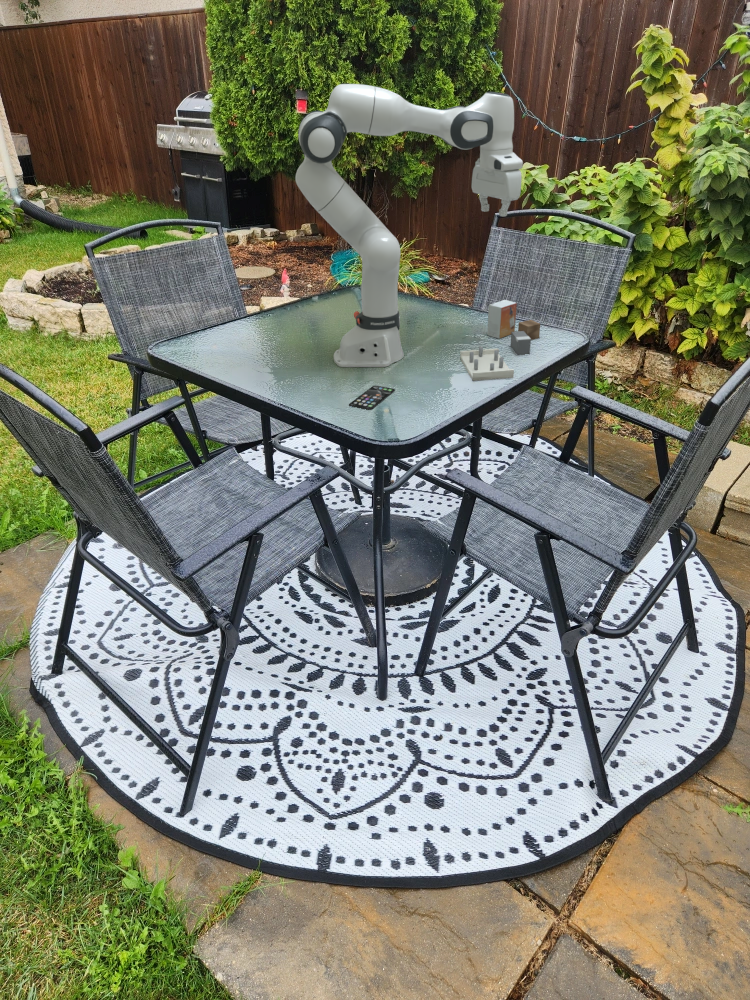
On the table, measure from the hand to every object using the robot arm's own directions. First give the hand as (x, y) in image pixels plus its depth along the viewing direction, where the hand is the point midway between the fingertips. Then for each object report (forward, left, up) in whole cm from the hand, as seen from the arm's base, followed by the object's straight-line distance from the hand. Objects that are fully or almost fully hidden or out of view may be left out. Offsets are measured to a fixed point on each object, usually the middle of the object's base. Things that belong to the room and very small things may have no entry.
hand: (493, 213), depth 192 cm
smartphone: (-40, -30, -42) cm, 65 cm away
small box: (+8, +13, -41) cm, 44 cm away
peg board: (-4, -15, -41) cm, 44 cm away
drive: (+10, -3, -41) cm, 42 cm away
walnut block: (+16, +8, -41) cm, 45 cm away
